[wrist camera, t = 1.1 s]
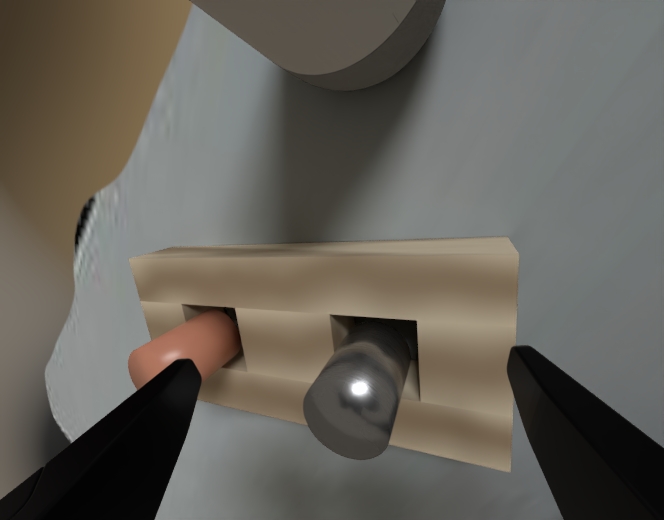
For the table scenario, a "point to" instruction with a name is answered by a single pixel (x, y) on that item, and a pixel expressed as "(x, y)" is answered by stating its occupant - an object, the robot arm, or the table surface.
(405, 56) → the smart speaker
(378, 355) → the grey button
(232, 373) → the button panel
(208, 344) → the red button
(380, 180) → the table surface
